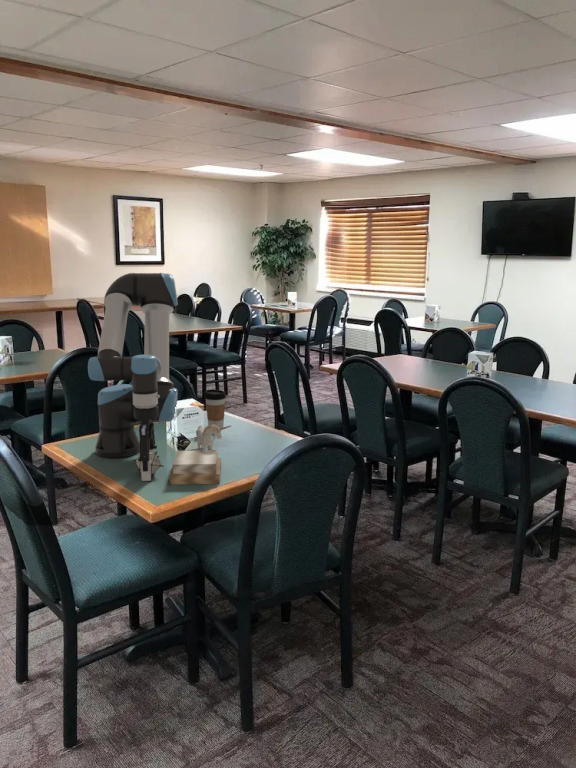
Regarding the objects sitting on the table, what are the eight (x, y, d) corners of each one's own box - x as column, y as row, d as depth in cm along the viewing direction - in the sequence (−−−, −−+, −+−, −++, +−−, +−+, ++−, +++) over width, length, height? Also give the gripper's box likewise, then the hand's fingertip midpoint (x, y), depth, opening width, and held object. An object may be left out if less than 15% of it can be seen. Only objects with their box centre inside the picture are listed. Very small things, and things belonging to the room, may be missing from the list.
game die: (145, 484, 197) (139, 455, 201) (169, 476, 196) (163, 446, 200) (132, 480, 189) (126, 449, 193) (158, 471, 188) (151, 440, 192)
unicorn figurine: (213, 468, 201) (212, 429, 199) (184, 453, 217) (183, 416, 214) (232, 464, 206) (231, 425, 203) (202, 449, 221) (202, 413, 218)
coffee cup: (210, 424, 252) (209, 388, 249) (229, 425, 250) (229, 389, 247) (201, 429, 245) (201, 392, 241) (222, 431, 242) (221, 394, 239)
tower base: (169, 484, 188) (169, 465, 186) (174, 467, 202) (174, 449, 201) (219, 483, 189) (219, 464, 187) (221, 466, 203) (220, 449, 202)
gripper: (153, 414, 180) (156, 487, 185) (162, 397, 201) (164, 462, 206) (126, 414, 179) (130, 487, 184) (139, 397, 201) (142, 463, 206)
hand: (148, 474), depth 195 cm, fingers open, 9 cm apart
